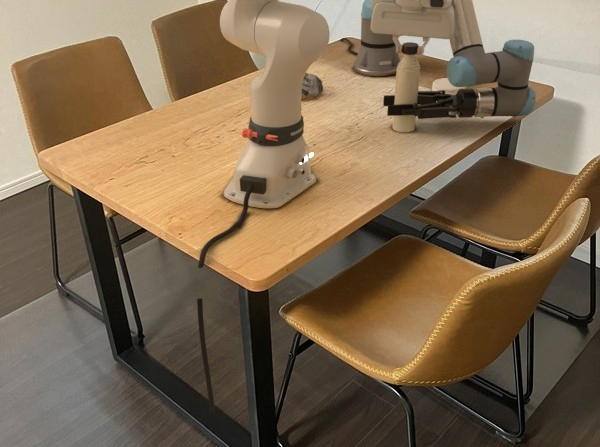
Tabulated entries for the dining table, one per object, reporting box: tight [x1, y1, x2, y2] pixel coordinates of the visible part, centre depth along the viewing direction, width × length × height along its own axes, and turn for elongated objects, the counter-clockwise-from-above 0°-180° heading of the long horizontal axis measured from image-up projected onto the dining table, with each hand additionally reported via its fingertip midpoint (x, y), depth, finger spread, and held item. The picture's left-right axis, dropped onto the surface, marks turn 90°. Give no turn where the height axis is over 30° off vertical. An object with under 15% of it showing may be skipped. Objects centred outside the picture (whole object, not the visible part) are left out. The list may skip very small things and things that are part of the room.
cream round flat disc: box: [431, 77, 467, 95], centre depth 185 cm, size 10×10×4 cm
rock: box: [301, 72, 324, 99], centre depth 187 cm, size 15×10×7 cm
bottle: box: [392, 54, 421, 133], centre depth 160 cm, size 6×6×22 cm
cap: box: [401, 41, 419, 56], centre depth 154 cm, size 4×4×2 cm
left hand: (409, 53), depth 155 cm, fingers closed on cap, 4 cm apart
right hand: (385, 105), depth 162 cm, fingers closed on bottle, 6 cm apart
